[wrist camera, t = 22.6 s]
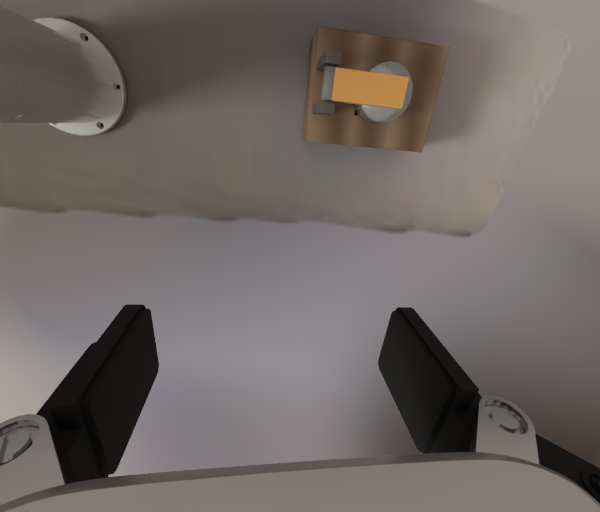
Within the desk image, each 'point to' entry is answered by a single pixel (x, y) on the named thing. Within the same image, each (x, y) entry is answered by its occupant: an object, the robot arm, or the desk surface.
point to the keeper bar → (363, 88)
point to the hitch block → (363, 56)
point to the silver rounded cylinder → (379, 112)
